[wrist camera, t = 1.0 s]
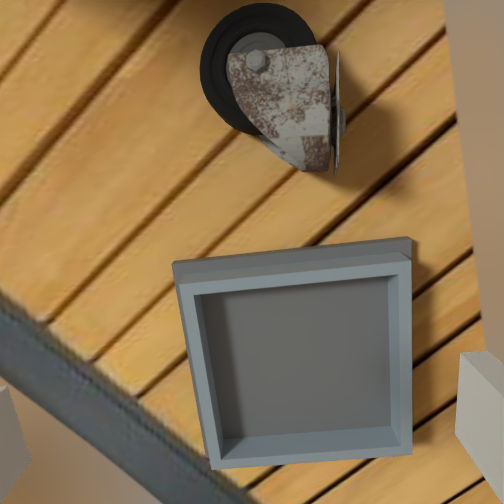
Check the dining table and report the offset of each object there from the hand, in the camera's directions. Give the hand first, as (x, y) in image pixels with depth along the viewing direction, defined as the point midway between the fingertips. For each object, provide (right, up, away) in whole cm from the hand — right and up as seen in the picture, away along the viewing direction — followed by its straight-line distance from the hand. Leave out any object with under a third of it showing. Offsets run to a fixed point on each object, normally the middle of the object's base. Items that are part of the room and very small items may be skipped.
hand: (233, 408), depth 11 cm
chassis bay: (+5, -5, +23) cm, 24 cm away
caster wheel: (+2, +16, +18) cm, 25 cm away
